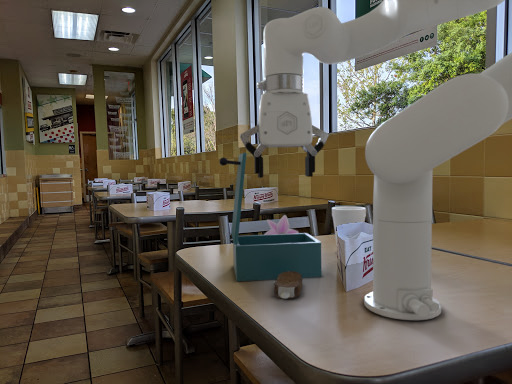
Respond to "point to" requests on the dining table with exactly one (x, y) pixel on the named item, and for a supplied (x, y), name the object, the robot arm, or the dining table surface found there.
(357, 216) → the foam cup
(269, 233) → the lily
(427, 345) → the dining table surface
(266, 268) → the chest
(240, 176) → the lid
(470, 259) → the dining table surface
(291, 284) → the ice cream bar
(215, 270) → the dining table surface
